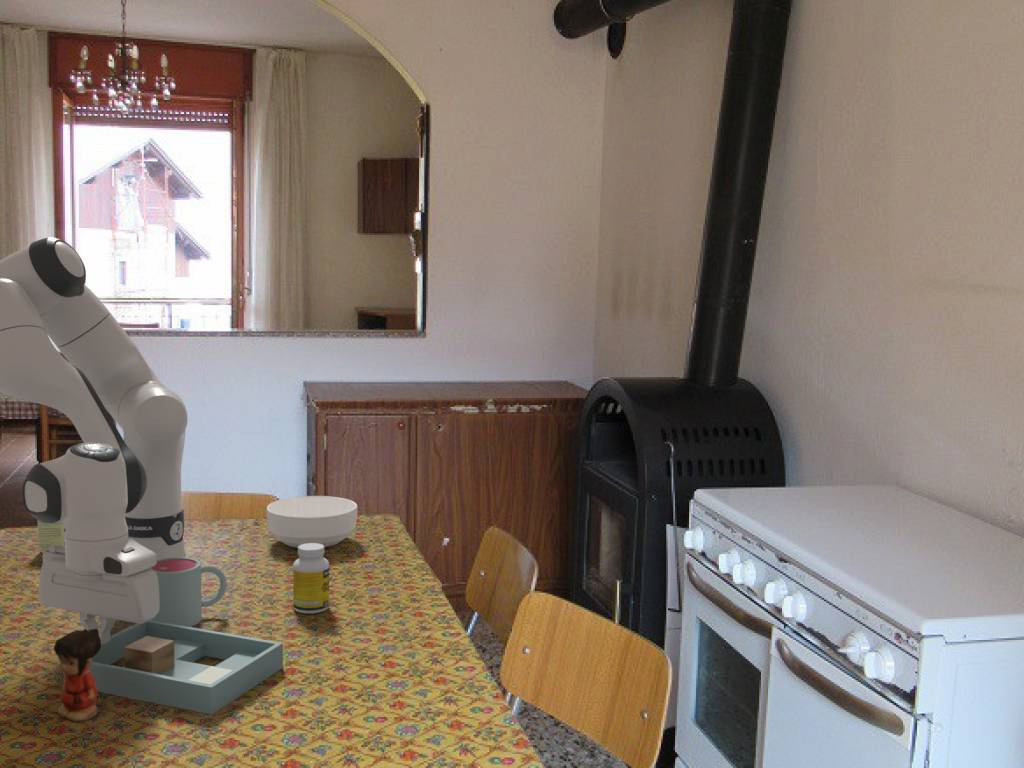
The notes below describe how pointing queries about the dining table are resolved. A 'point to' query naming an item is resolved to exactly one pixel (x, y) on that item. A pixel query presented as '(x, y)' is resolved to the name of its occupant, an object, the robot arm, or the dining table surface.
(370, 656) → the dining table surface
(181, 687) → the tray
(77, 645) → the figurine
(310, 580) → the pill bottle
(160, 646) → the block
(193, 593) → the mug
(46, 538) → the box
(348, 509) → the bowl
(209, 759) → the dining table surface
